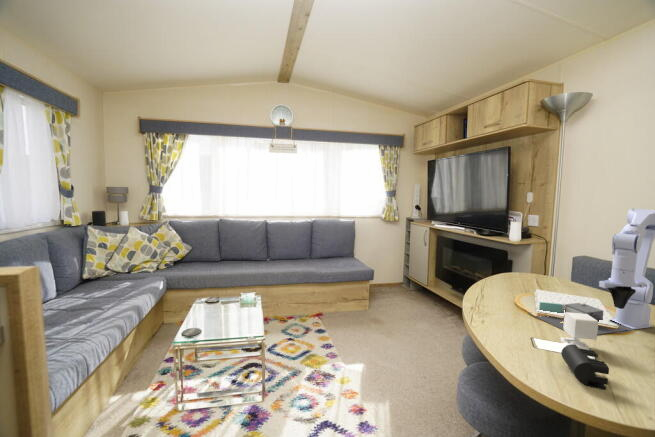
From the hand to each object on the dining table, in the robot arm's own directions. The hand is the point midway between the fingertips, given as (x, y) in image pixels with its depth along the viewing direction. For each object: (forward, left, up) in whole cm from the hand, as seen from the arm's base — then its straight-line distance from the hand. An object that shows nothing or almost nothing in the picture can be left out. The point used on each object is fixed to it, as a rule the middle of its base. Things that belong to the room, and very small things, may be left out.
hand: (619, 307), depth 105 cm
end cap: (+36, +15, -10) cm, 40 cm away
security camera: (+21, +2, -10) cm, 23 cm away
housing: (0, -12, -10) cm, 15 cm away
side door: (+7, -18, -9) cm, 22 cm away
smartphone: (+27, +2, -10) cm, 29 cm away
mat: (+3, -12, -10) cm, 15 cm away
